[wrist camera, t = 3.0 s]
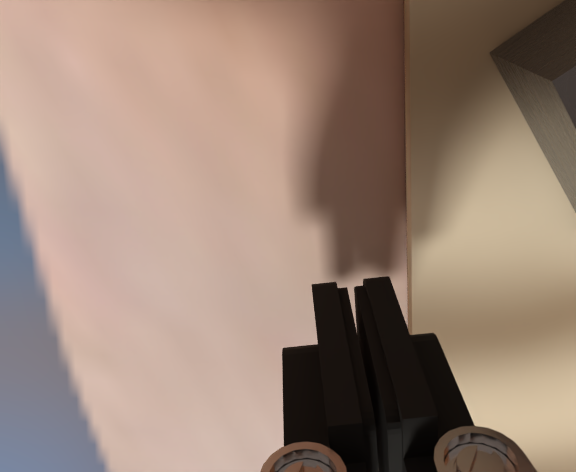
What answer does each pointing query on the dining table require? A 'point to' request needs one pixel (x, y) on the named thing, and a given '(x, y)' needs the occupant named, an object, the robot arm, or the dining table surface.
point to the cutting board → (489, 229)
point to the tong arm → (546, 86)
